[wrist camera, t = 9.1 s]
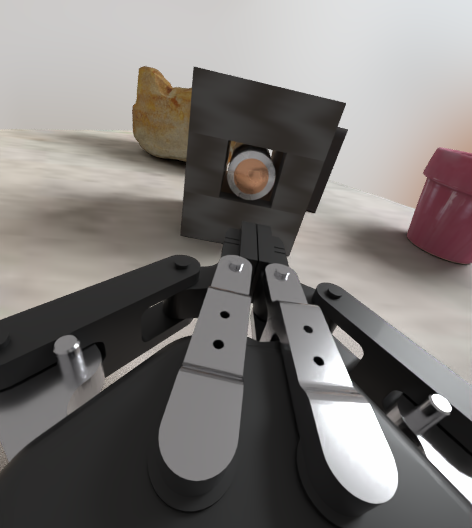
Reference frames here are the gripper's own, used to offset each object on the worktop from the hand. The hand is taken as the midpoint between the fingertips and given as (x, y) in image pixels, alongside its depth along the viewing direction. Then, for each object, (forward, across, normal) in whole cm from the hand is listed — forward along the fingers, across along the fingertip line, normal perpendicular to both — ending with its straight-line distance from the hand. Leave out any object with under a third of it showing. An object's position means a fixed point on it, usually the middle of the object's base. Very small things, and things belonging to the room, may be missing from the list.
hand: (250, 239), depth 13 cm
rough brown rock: (+43, +9, +8) cm, 45 cm away
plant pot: (+23, -31, +8) cm, 40 cm away
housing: (+17, 0, +8) cm, 19 cm away
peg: (+17, 0, +2) cm, 17 cm away
